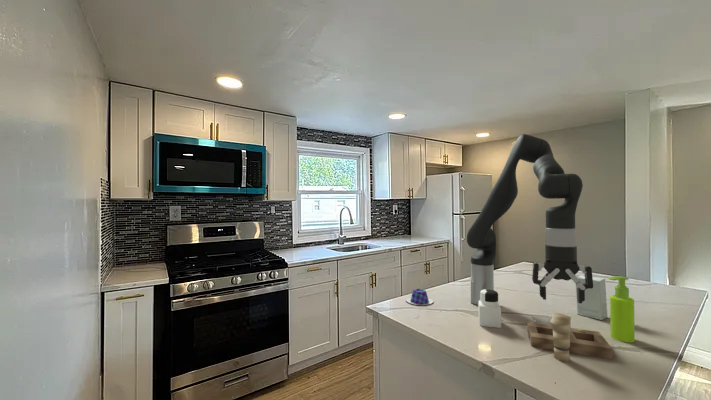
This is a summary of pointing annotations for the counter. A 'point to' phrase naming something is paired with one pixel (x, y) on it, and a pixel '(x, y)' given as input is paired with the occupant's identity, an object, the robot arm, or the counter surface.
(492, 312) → the medicine bottle
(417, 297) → the pudding
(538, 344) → the board
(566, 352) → the peg
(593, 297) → the skincare box
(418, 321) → the counter surface
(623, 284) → the soap dispenser
